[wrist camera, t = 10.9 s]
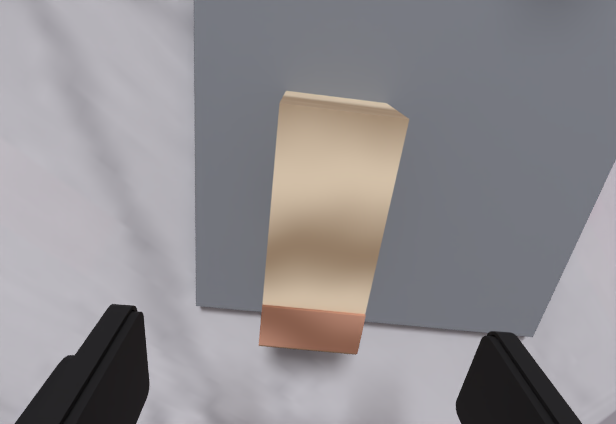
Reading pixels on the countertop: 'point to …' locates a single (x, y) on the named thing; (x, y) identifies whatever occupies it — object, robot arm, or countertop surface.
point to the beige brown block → (327, 218)
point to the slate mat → (416, 143)
